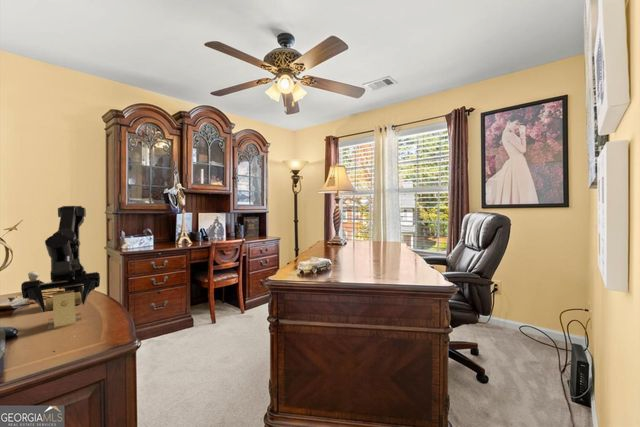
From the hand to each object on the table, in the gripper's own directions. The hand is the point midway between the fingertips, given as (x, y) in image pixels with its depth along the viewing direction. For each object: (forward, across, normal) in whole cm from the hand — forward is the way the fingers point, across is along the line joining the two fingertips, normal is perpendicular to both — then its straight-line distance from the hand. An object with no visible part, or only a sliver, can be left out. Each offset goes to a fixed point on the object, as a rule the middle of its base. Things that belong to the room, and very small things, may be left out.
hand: (64, 307), depth 91 cm
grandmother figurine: (-27, -9, +36) cm, 46 cm away
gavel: (-10, 0, +20) cm, 22 cm away
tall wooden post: (+3, 0, +5) cm, 6 cm away
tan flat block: (+2, 0, +8) cm, 8 cm away
